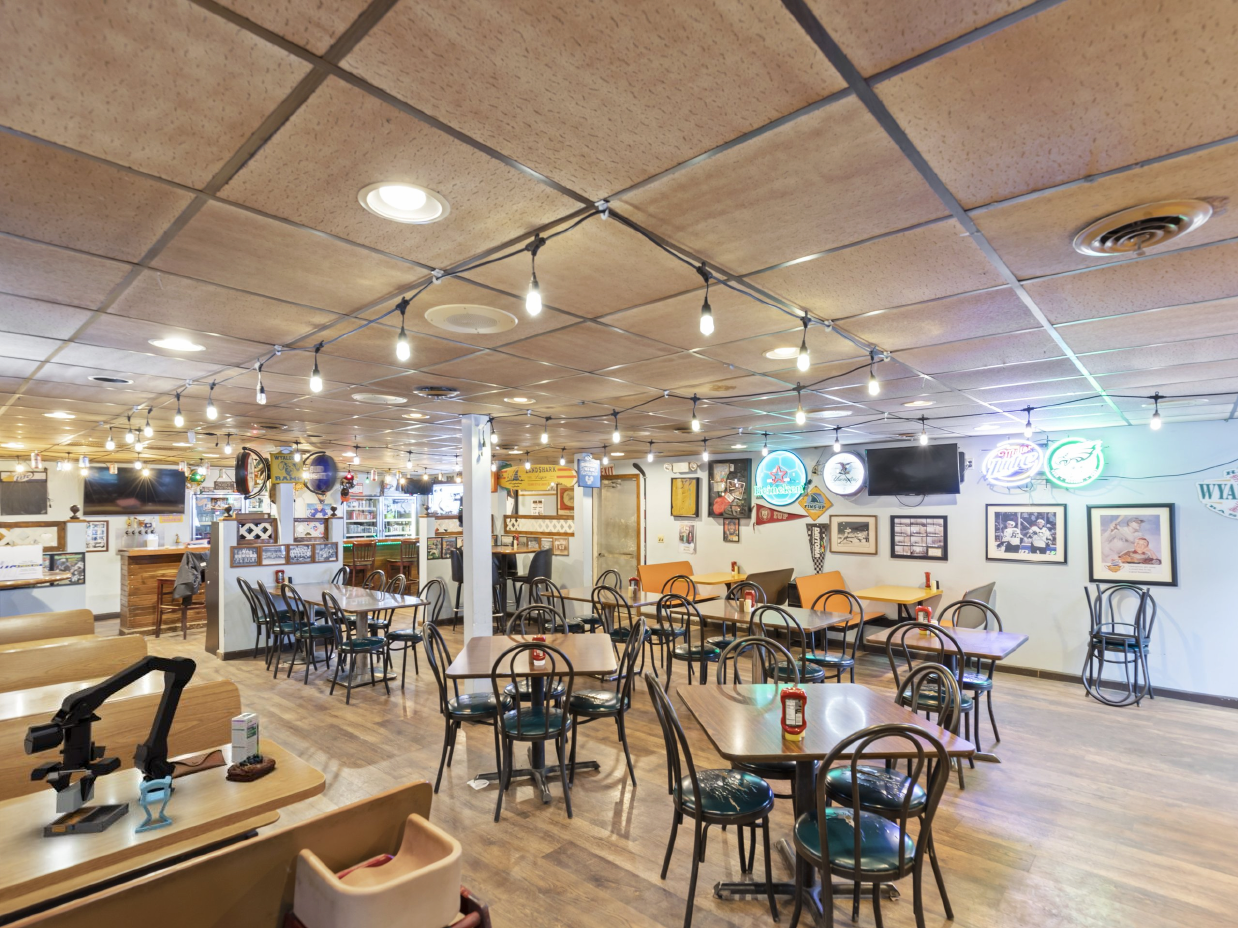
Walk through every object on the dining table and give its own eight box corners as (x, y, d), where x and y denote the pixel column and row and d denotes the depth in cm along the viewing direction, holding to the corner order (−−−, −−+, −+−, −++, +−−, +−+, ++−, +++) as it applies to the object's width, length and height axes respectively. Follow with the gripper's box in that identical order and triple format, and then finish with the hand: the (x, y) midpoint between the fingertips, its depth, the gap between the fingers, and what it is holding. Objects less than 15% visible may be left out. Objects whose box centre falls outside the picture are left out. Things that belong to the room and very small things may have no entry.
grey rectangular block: (94, 797, 172) (94, 778, 173) (73, 811, 164) (73, 792, 165) (77, 799, 172) (78, 780, 172) (56, 813, 164) (56, 793, 164)
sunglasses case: (163, 782, 193) (161, 760, 196) (158, 788, 197) (156, 767, 200) (229, 763, 206) (226, 743, 209) (223, 770, 210) (221, 750, 213)
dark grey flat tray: (128, 811, 174) (128, 802, 175) (101, 832, 163) (101, 822, 163) (74, 816, 173) (74, 807, 173) (42, 837, 161) (43, 827, 162)
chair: (172, 812, 173) (173, 768, 174) (171, 824, 166) (172, 778, 167) (137, 821, 169) (139, 775, 170) (135, 833, 162) (136, 785, 163)
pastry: (220, 781, 193) (220, 762, 194) (251, 765, 205) (251, 747, 205) (250, 784, 191) (251, 764, 191) (280, 768, 202) (280, 749, 203)
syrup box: (245, 763, 206) (246, 718, 207) (230, 762, 208) (231, 717, 209) (259, 756, 212) (259, 712, 213) (244, 755, 213) (244, 711, 214)
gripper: (134, 728, 178) (132, 785, 177) (60, 733, 176) (58, 791, 175) (108, 743, 167) (106, 803, 166) (29, 748, 165) (27, 810, 164)
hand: (75, 801), depth 168 cm, fingers closed on grey rectangular block, 4 cm apart
